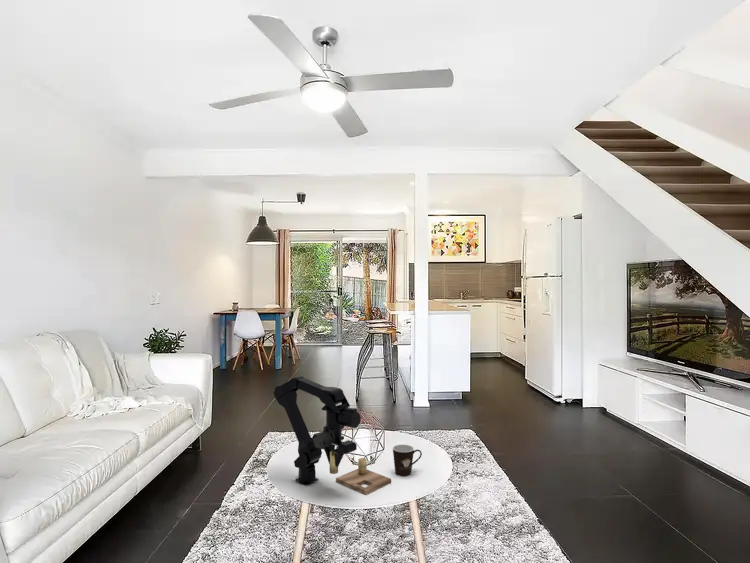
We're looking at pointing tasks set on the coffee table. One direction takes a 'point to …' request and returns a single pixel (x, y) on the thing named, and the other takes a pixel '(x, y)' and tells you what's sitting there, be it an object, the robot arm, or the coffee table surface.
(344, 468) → the coffee table surface
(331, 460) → the brass pin
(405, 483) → the coffee table surface
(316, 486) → the coffee table surface
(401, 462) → the coffee mug
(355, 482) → the pin board
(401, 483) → the coffee table surface
